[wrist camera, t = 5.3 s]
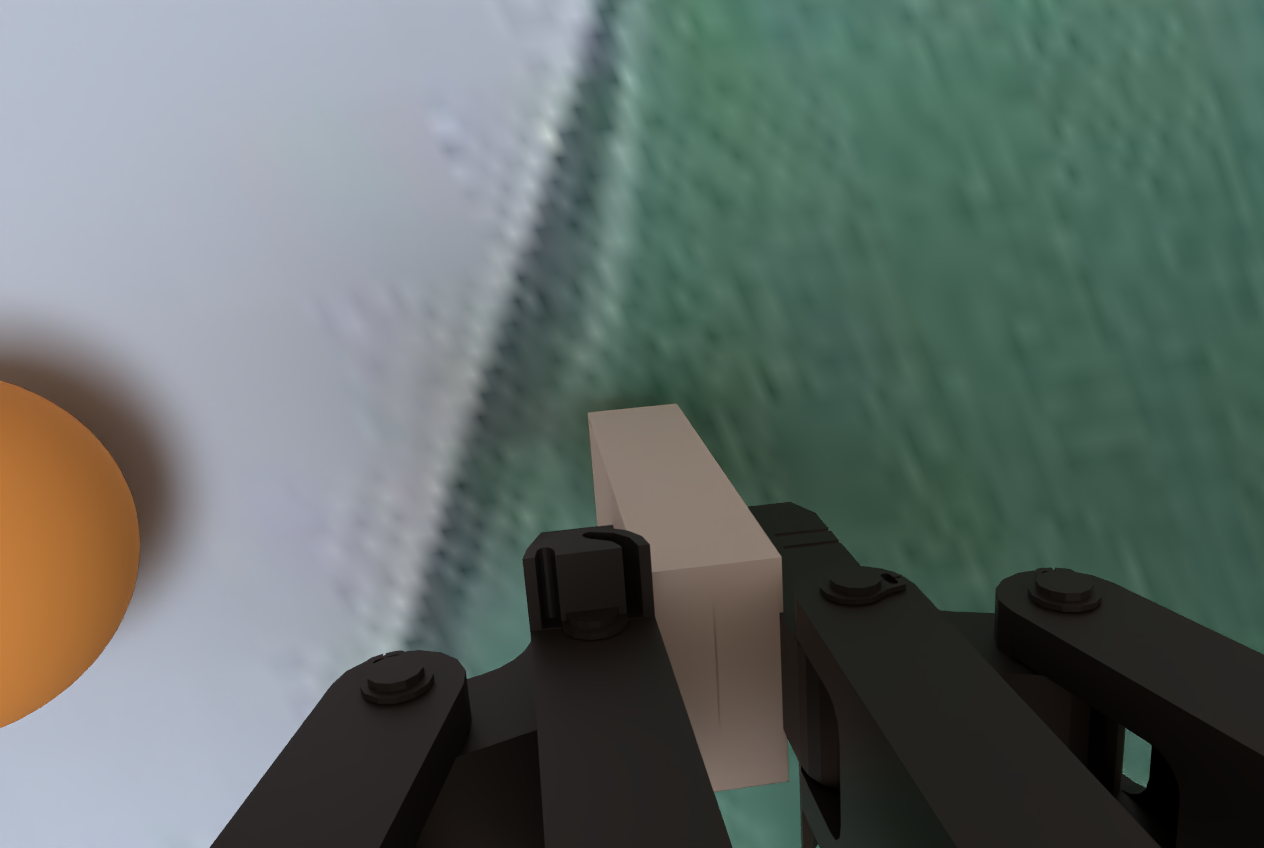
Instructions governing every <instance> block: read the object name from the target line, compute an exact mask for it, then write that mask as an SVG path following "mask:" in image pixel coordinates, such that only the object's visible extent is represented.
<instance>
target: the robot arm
mask: <svg viewBox="0 0 1264 848" xmlns="http://www.w3.org/2000/svg"><path fill="white" fill-rule="evenodd" d="M588 422H589V433H590V445H591V457H592V468H593V480H594V492H595V503H596V515H597V526H596V527H587V528H579V529H570V530H561V531H552V532H543V533H541V534H540V535H539V536H538V537H537V538H536V539H535V540H534V542H533V543H532V544H531V545H530V546H529V547H528V548H527V550H526V552H525V555H524V557H523V567H524V576H525V586H526V595H527V604H528V613H529V622H530V632H531V642H530V644H529V645H528V647H527V648H526V650H525V651H524V652H523V653H522V654H520V655H519V656H518V657H517V658H516V659H514V660H513V661H511V662H509V663H508V664H506V665H504V666H502V667H500V668H498V669H496V670H493V671H490V672H488V673H485V674H482V675H479V676H476V677H473V678H470V679H467V678H466V670H465V669H464V668H463V666H462V665H461V664H460V662H459V661H458V660H457V659H455V658H453V657H450V656H448V655H446V654H443V653H441V652H431V651H421V650H416V651H407V652H404V651H394V652H389V653H386V655H384V656H383V654H381V655H378V656H375V657H372V658H370V659H369V660H367V661H366V662H364V663H362V664H360V665H358V666H356V667H354V668H352V669H350V670H348V671H346V672H345V673H344V674H343V675H342V676H341V677H340V678H339V679H337V680H336V681H335V682H334V683H333V684H332V685H331V686H330V688H329V689H328V690H327V692H326V693H325V694H324V696H323V697H322V698H321V700H320V701H319V702H318V704H317V705H316V706H315V708H314V709H313V710H312V712H311V713H310V714H309V716H308V717H307V718H306V720H305V721H304V722H303V724H302V725H301V726H300V728H299V729H298V730H297V732H296V733H295V734H294V736H293V737H292V738H291V740H290V741H289V742H288V744H287V745H286V746H285V748H284V749H283V750H282V752H281V753H280V754H279V756H278V757H277V758H276V760H275V761H274V762H273V764H272V765H271V766H270V768H269V769H268V771H267V772H266V773H265V775H264V776H263V777H262V779H261V780H260V781H259V783H258V784H257V785H256V787H255V788H254V789H253V791H252V792H251V793H250V795H249V796H248V797H247V799H246V800H245V801H244V803H243V804H242V805H241V807H240V808H239V809H238V811H237V812H236V813H235V815H234V816H233V817H232V819H231V820H230V821H229V823H228V824H227V825H226V827H225V828H224V829H223V831H222V832H221V833H220V835H219V836H218V837H217V839H216V840H215V841H214V843H213V844H212V845H211V847H210V848H732V845H731V842H730V839H729V836H728V833H727V830H726V827H725V824H724V821H723V818H722V815H721V812H720V809H719V806H718V803H717V800H716V797H715V794H714V792H717V791H724V790H731V789H738V788H745V787H752V786H759V785H766V784H773V783H781V782H788V781H789V773H788V742H787V738H788V740H789V742H790V744H791V746H792V748H793V750H794V752H795V754H796V756H797V759H798V761H799V775H800V810H801V845H802V848H816V846H817V845H819V847H820V848H1264V655H1263V654H1261V653H1259V652H1257V651H1255V650H1252V649H1250V648H1248V647H1246V646H1244V645H1242V644H1240V643H1238V642H1236V641H1234V640H1232V639H1229V638H1227V637H1225V636H1223V635H1221V634H1219V633H1217V632H1215V631H1213V630H1211V629H1209V628H1206V627H1204V626H1202V625H1200V624H1198V623H1196V622H1194V621H1192V620H1190V619H1188V618H1186V617H1183V616H1181V615H1179V614H1177V613H1175V612H1173V611H1171V610H1169V609H1167V608H1165V607H1163V606H1160V605H1158V604H1156V603H1154V602H1152V601H1150V600H1148V599H1146V598H1144V597H1142V596H1140V595H1137V594H1135V593H1133V592H1131V591H1129V590H1127V589H1125V588H1123V587H1121V586H1119V585H1117V584H1114V583H1112V582H1109V581H1106V580H1104V579H1101V578H1098V577H1095V576H1092V575H1088V574H1082V573H1077V572H1074V571H1073V570H1071V569H1065V568H1055V570H1053V569H1052V568H1039V569H1037V570H1036V571H1029V572H1022V573H1017V574H1015V575H1012V576H1010V577H1008V578H1005V579H1003V580H1002V581H1001V583H1000V584H999V585H998V587H997V588H996V597H995V613H975V612H952V611H940V610H938V609H937V608H936V607H935V606H934V604H933V603H932V602H931V601H930V600H929V599H928V598H927V597H926V596H925V595H924V594H923V593H922V592H921V591H920V589H919V588H918V587H917V586H916V585H915V584H914V583H912V582H911V581H909V580H908V579H906V578H905V577H903V576H902V575H900V574H897V573H895V572H892V571H887V570H884V569H880V568H872V567H864V566H860V565H859V563H858V562H857V561H856V560H855V559H854V558H853V556H852V555H851V554H850V553H849V552H848V551H847V549H846V548H845V547H844V546H843V545H842V544H841V543H839V542H838V539H837V538H836V537H835V535H834V534H833V533H832V532H831V531H828V527H827V526H826V525H825V524H824V523H823V521H822V520H821V519H820V518H819V517H818V516H817V514H816V513H814V512H812V511H809V510H807V509H805V508H803V507H800V506H798V505H796V504H794V503H791V502H785V503H776V504H767V505H758V506H750V507H747V506H746V504H745V503H744V501H743V500H742V498H741V497H740V495H739V494H738V493H737V491H736V490H735V488H734V487H733V485H732V484H731V482H730V481H729V479H728V478H727V476H726V475H725V473H724V472H723V471H722V469H721V468H720V466H719V465H718V463H717V462H716V460H715V459H714V457H713V456H712V454H711V453H710V451H709V450H708V449H707V447H706V446H705V444H704V443H703V441H702V440H701V438H700V437H699V435H698V434H697V432H696V431H695V429H694V428H693V427H692V425H691V424H690V422H689V421H688V419H687V418H686V416H685V415H684V413H683V412H682V410H681V409H680V408H679V406H678V405H677V404H667V405H657V406H647V407H637V408H627V409H617V410H608V411H598V412H588ZM1125 728H1127V729H1128V730H1130V731H1131V732H1133V733H1135V734H1136V735H1138V736H1139V737H1141V738H1142V739H1144V740H1146V741H1147V742H1149V743H1150V744H1151V745H1152V751H1151V763H1150V776H1149V781H1148V784H1147V787H1146V788H1145V787H1143V786H1141V785H1139V784H1136V783H1135V782H1133V781H1132V780H1130V779H1129V778H1128V777H1126V776H1125V775H1123V774H1122V767H1123V753H1124V739H1125Z"/></svg>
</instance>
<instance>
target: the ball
mask: <svg viewBox="0 0 1264 848" xmlns="http://www.w3.org/2000/svg"><path fill="white" fill-rule="evenodd" d="M139 556H140V535H139V525H138V518H137V513H136V508H135V504H134V501H133V498H132V495H131V492H130V489H129V487H128V485H127V483H126V481H125V479H124V477H123V475H122V473H121V471H120V469H119V467H118V465H117V463H116V462H115V460H114V459H113V458H112V456H111V455H110V453H109V452H108V451H107V450H106V448H105V447H104V446H103V445H102V443H101V442H100V441H99V440H98V439H97V438H96V436H95V435H94V434H93V433H92V432H91V431H90V430H88V429H87V428H86V427H85V426H84V425H83V424H82V423H80V422H79V421H78V420H77V419H76V418H74V417H73V416H72V415H71V414H69V413H68V412H67V411H65V410H63V409H62V408H60V407H59V406H57V405H55V404H54V403H52V402H51V401H49V400H47V399H45V398H43V397H41V396H40V395H37V394H35V393H33V392H31V391H28V390H26V389H24V388H21V387H19V386H16V385H13V384H10V383H7V382H3V381H0V728H2V727H4V726H6V725H9V724H11V723H13V722H15V721H18V720H20V719H21V718H23V717H25V716H27V715H28V714H30V713H32V712H34V711H36V710H37V709H39V708H41V707H42V706H44V705H45V704H47V703H48V702H50V701H51V700H52V699H54V698H55V697H56V696H58V695H59V694H60V693H62V692H63V691H64V690H66V689H67V688H68V687H69V686H71V685H72V684H73V683H74V682H75V681H76V680H77V679H78V678H79V677H80V676H81V675H82V674H83V673H84V672H85V671H86V670H87V669H88V668H89V667H90V666H91V665H92V664H93V663H94V662H95V660H96V659H97V658H98V657H99V655H100V654H101V653H102V651H103V650H104V649H105V647H106V646H107V644H108V643H109V641H110V640H111V639H112V637H113V635H114V634H115V632H116V631H117V629H118V627H119V625H120V623H121V621H122V619H123V617H124V614H125V612H126V610H127V608H128V605H129V603H130V600H131V598H132V595H133V591H134V588H135V584H136V579H137V573H138V567H139Z"/></svg>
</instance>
